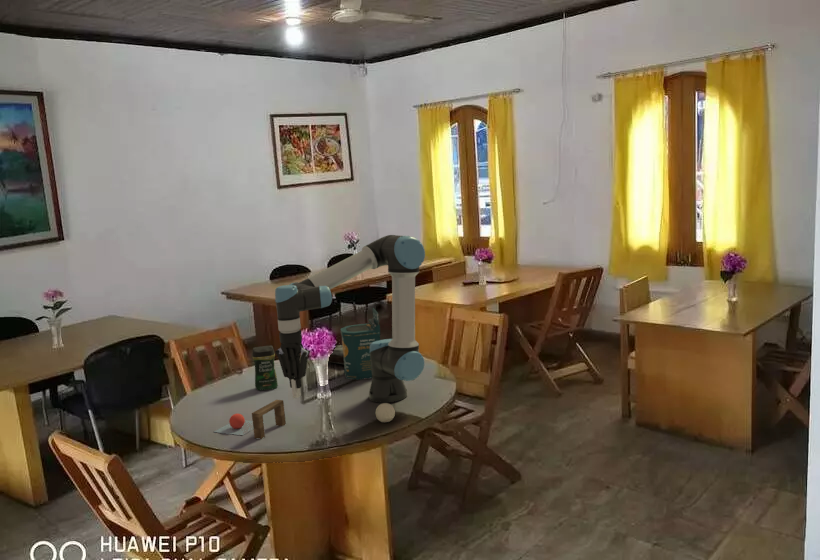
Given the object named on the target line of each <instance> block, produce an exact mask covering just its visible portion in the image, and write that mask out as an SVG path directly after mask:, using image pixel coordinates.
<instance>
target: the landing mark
mask: <svg viewBox="0 0 820 560" xmlns="http://www.w3.org/2000/svg"><path fill="white" fill-rule="evenodd" d="M245 421H246V423H248V422H249V423H250V424H251V423H252V421H253V420H247V419H245ZM249 423H248V424H249ZM248 424H247V425H248ZM244 425H245V424H244ZM244 425H243V427H244ZM251 425H252V424H251ZM248 426H249V425H248ZM248 426H247V427H248ZM243 427H241V428H239V429H234V428H232V427H231V426H230V423H227V424H225V425H224V426H222V427H219V428H217V429H216V430H214V431H213V433H216V432H217V433H218V434H224V433H226V435H232V434H234V435H233V436H240V435H243V436H245V435H246V434H245V433H244V434H245V435H244V434H243V432H244V429H243ZM240 429H241V430H240ZM242 430H243V431H242ZM249 430H250V427H249V429H248V431H249ZM245 431H246V430H245ZM251 431H253V430H252V428H251ZM239 434H240V435H239Z"/></svg>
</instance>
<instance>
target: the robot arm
mask: <svg viewBox="0 0 820 560" xmlns="http://www.w3.org/2000/svg"><path fill="white" fill-rule="evenodd" d="M425 259H426V251H425V248H424V245H423V243H422V242H421V241H420V240H419V239H418V238H416V237H413V236H409V235H398V234H397V235H396V234H388V235H385V236H382V237H381V238H378V239H376V240H374V241H372V242H370V243H368V244H366V245H365V246H362V248H361V250H360V251H358V252H357V253H354V254H352V255H351V256H349V257H347V258H345V259H343V260H341V261H339V262H337V263H335V264H333V265H331V266H329V267H327V268H324V270H323V269H322V270H321V271H319V272H318V273H317V272H316V273H315V274H313V275H311V276H309V277H308V278H305V279H304V280H301V281H299V282H291V283H290V284H286V285H279V286H277V287H276V288H275V290H274V295H275V296H274V303H275V307H276V315H277V327H278V331H279V333H278V335H279V343H280V347H279V348H278V349H276V350H274V353H275V356H277V358H278V361H279V364H280V368H281V371H282V374H283V377H284V378H288V380H289V387H290V388H291V392H292V398H293V399H297V398H300V397H301V396H302V392H301V388H302V378H304V377H305V376H306V375H307V365H308V356H309V354H310V352H311V351H310V350H306V349H305V348H304V346H303V343H302V341H303V336H302V335H303V334H302V330H301V329H302V325H301V324H302V323H301V315H300V312H305V311H310V310H318V309H323V308H326V307H329V306H330V305H331V304H332V301H333V300H332V299H333V297H332V296H333V295H332V292H331V290H333V289H334V288H336V287H338V286H340V285H341V284H344V283H346V282H347V281H349V280H351V279H354V278H355V277H357V276H359V275H360V274H363V273H364V272H366V271H369V270H371V269H372V270H376V269H378V268H380V267H382V266H387V273H388V274H389V275H390V276H391V279H392V280H391V288H392V289H391V292H392V293H391V311H392V312H391V313H392V315H391V317H392V318H391V326H392V327H391V330H392V331H391V338H386V339H380V340H379V341H375V342H372V343H371V344H370V359H371V371H372V378H371V382H370V388H369V391H368V396H369V397H368V398H369V400H370V401H372V402H374V403H380V404H383V403H388V404H389V403H395V402H398V401H402V400H404V399H406V398H407V397H408V389H407V387H406V384H405V382H410V381H413V380H416V379H417V378H419V376H420V375H421V374H422V373H423V370H424V368H425V358H424V357H423V355H422V354H421V352H420V345H419V344H420V343H419V342H418V341H417V340H416V276H417V275H418V274H419V273H420V267H421V265H422V263H424V261H425ZM404 381H405V382H404ZM406 396H407V397H406ZM405 397H406V398H405ZM394 401H395V402H394Z"/></svg>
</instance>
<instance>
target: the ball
mask: <svg viewBox="0 0 820 560" xmlns="http://www.w3.org/2000/svg"><path fill="white" fill-rule="evenodd" d="M245 420H246V419H245V417H244V415H243V414H241V413H234V414H232V415H231V416H230V418H229V420H228V422H229V423H230V426H231V427H232V428H234V429H239V428H241V427H242V426H243V425H244V423H245ZM229 423H228V424H229Z"/></svg>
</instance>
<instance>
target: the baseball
mask: <svg viewBox="0 0 820 560" xmlns="http://www.w3.org/2000/svg"><path fill="white" fill-rule="evenodd" d="M395 415H396V411H395V408H394V406H393V404H390V403H389V402H388V403H380V404H379V405H377V407H376V409H375V416H376V417H375V418H376V419H377V420H378V421H379V422H381V423H389V422H391V421H393V419H394V418H395Z"/></svg>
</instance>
